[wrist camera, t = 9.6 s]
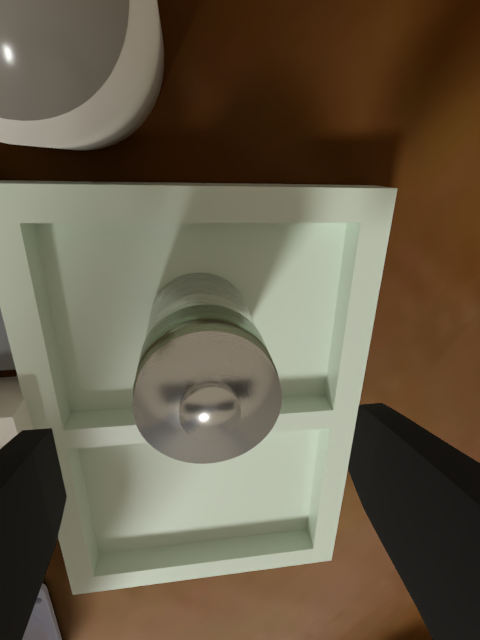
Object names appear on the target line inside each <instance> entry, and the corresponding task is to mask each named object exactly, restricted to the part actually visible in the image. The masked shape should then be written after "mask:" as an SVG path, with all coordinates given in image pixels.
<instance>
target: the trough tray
mask: <svg viewBox="0 0 480 640" xmlns="http://www.w3.org/2000/svg"><path fill="white" fill-rule="evenodd" d="M397 189H398V188H391V187H383V186H376V185H319V184H246V183H173V182H101V181H28V180H0V309H1V313H2V317H3V321H4V324H5V328H6V332H7V336H8V340H9V344H10V348H11V352H12V356H13V360H14V364H15V368H16V372H17V376H18V380H19V384H20V388H21V392H22V396H23V398H24V397H26V401H27V405H28V409H29V413H30V417H31V421H32V425H33V429H47V428H52V431H53V436H54V440H55V445H56V449H57V454H58V459H59V463H60V468H61V472H62V477H63V481H64V486H65V490H66V495H67V498H66V503H65V507H64V512H63V517H62V521H61V525H60V529H59V534H58V539H59V543H60V547H61V551H62V555H63V559H64V563H65V567H66V571H67V575H68V579H69V582H70V586H71V590H72V594H73V595H76V594H84V593H91V592H99V591H106V590H114V589H121V588H129V587H136V586H144V585H151V584H158V583H166V582H173V581H181V580H188V579H196V578H203V577H211V576H218V575H226V574H233V573H241V572H248V571H256V570H263V569H271V568H278V567H286V566H293V565H301V564H308V563H316V562H323V561H331V560H332V554H333V549H334V543H335V537H336V532H337V526H338V521H339V515H340V509H341V504H342V498H343V492H344V487H345V481H346V476H347V470H348V464H349V459H350V453H351V447H352V442H353V436H354V430H355V425H356V419H357V413H358V407H359V402H360V397H361V391H362V386H363V380H364V374H365V369H366V363H367V357H368V352H369V346H370V341H371V335H372V329H373V324H374V318H375V312H376V307H377V301H378V295H379V290H380V284H381V279H382V273H383V267H384V262H385V256H386V250H387V245H388V239H389V234H390V228H391V222H392V217H393V211H394V205H395V200H396V194H397ZM189 273H210V274H214V275H217V276H220V277H222V278H224V279H226V280H227V281H229V282H230V283H231V284H233V285H234V286H235V287H236V288H237V290H238V291H239V292H240V294H241V295H242V297H243V299H244V301H245V303H246V306H247V308H248V310H249V313H250V315H251V317H252V319H253V322H254V324H255V326H256V328H257V329H258V331H259V333H260V334H261V336H262V338H263V340H264V343H265V345H266V347H267V349H268V351H269V354H270V356H271V358H272V360H273V363H274V365H275V367H276V370H277V373H278V377H279V381H280V385H281V390H282V405H281V410H280V414H279V416H278V419H277V421H276V423H275V425H274V427H273V428H272V430H271V431H270V432H269V434H268V435H267V436H266V437H265V438H264V439H263V440H262V441H261V442H260V443H259V444H258V445H256V446H255V447H254V448H252V449H251V450H249V451H248V452H246V453H244V454H242V455H240V456H238V457H235V458H232V459H230V460H226V461H222V462H217V463H208V464H195V463H187V462H183V461H178V460H175V459H173V458H170V457H168V456H166V455H164V454H162V453H160V452H159V451H157V450H156V449H154V448H153V447H152V446H151V445H150V444H149V443H148V442H147V441H146V440H145V439H144V438H143V436H142V435H141V433H140V432H139V430H138V428H137V426H136V423H135V420H134V416H133V407H132V405H133V386H134V381H135V377H136V372H137V367H138V363H139V358H140V354H141V349H142V346H143V344H144V341H145V337H146V332H147V328H148V323H149V318H150V313H151V309H152V305H153V302H154V300H155V298H156V296H157V294H158V293H159V292H160V290H161V289H162V288H163V287H164V286H165V285H166V284H168V283H169V282H170V281H172V280H173V279H175V278H177V277H180V276H182V275H185V274H189Z"/></svg>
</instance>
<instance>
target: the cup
mask: <svg viewBox="0 0 480 640" xmlns="http://www.w3.org/2000/svg"><path fill="white" fill-rule="evenodd" d="M163 74H164V43H163V35H162V29H161V22H160V16H159V10H158V3H157V0H0V142H2V143H6V144H13V145H24V146H35V147H46V148H57V149H68V150H80V151H87V150H97V149H103V148H107V147H109V146H112V145H115V144H117V143H119V142H121V141H123V140H125V139H126V138H128V137H129V136H130V135H132V134H133V133H134V132H135V131H136V130H137V129H138V128H139V127H140V126H141V125H142V124H143V123H144V122H145V120H146V119H147V118H148V116H149V115H150V113H151V111H152V109H153V108H154V106H155V104H156V101H157V98H158V96H159V93H160V89H161V85H162V81H163Z"/></svg>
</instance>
